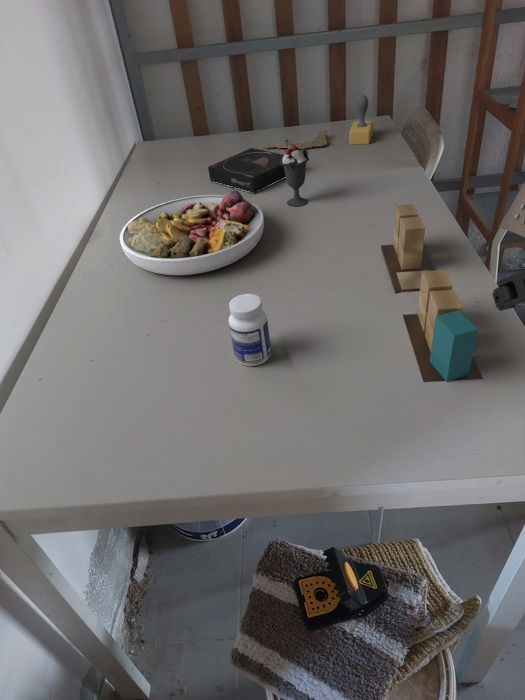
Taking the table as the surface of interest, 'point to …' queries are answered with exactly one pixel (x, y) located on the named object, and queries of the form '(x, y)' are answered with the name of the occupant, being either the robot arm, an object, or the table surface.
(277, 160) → the black pizza box
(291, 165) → the sundae
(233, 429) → the table surface
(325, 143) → the jawbone
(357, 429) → the table surface
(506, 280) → the robot arm
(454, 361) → the teal upright block
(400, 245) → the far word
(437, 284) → the near word
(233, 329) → the pill bottle
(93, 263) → the table surface
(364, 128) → the rubber stamp
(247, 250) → the bowl
